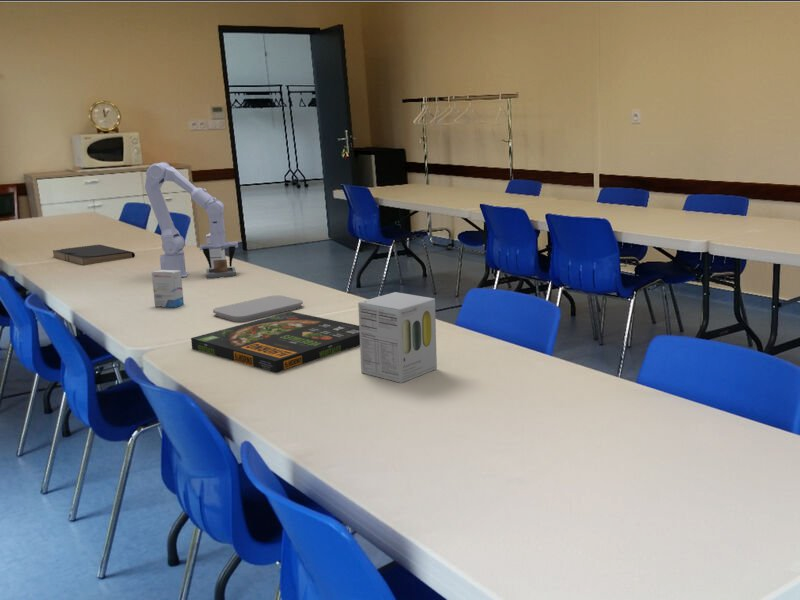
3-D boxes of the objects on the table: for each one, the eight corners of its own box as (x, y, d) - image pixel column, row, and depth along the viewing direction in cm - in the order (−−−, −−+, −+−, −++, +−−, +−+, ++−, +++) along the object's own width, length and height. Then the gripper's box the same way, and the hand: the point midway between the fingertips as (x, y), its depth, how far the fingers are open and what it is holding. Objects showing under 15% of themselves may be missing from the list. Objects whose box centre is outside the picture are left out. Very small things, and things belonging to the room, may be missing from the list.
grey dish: (207, 278, 312) (206, 274, 311) (206, 273, 322) (206, 269, 322) (236, 276, 314) (235, 271, 314) (234, 271, 325) (234, 266, 324)
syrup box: (223, 269, 329) (220, 234, 326) (208, 270, 330) (205, 234, 326) (226, 266, 335) (223, 231, 332) (212, 267, 335) (209, 232, 332)
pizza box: (376, 341, 221) (375, 329, 220) (276, 375, 196) (275, 361, 195) (291, 322, 244) (290, 311, 243) (192, 350, 219) (191, 338, 218)
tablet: (209, 316, 255) (208, 309, 254) (276, 301, 272) (276, 294, 272) (238, 324, 243) (238, 317, 243) (307, 308, 261) (306, 301, 261)
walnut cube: (214, 275, 315) (213, 262, 314) (214, 273, 320) (213, 260, 318) (227, 274, 316) (226, 261, 315) (227, 272, 321) (226, 259, 320)
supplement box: (401, 384, 185) (398, 309, 181) (360, 373, 193) (356, 301, 189) (438, 369, 194) (436, 298, 190) (397, 359, 203) (394, 291, 199)
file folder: (51, 249, 372) (102, 243, 388) (52, 258, 373) (103, 251, 389) (81, 257, 349) (134, 250, 365) (82, 266, 350) (135, 259, 366)
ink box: (185, 304, 271) (181, 269, 268) (176, 308, 266) (172, 272, 263) (163, 303, 273) (159, 268, 271) (154, 306, 269) (150, 271, 266)
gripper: (198, 235, 309) (201, 270, 312) (237, 232, 312) (239, 267, 315) (198, 232, 316) (201, 266, 319) (236, 230, 319) (239, 264, 322)
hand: (220, 266), depth 317 cm, fingers open, 7 cm apart
